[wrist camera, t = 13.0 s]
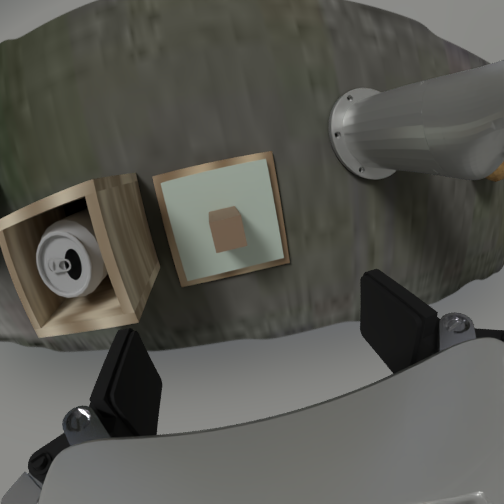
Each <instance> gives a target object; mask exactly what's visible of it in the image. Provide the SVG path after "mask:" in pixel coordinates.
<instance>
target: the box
mask: <svg viewBox="0 0 504 504" xmlns="http://www.w3.org/2000/svg"><path fill="white" fill-rule="evenodd" d="M83 198H86V202H87V206H88V210H89V214H90V218H91V221H92V225H93V228H94V232H95V235H96V239H97V242H98V245H99V248H100V251H101V254H102V257H103V260H104V263H105V266H106V269H107V272H108V274H107V275H106V277H105V278H104V279H103V280H102V282H101V283H100V284H99V285H98V286H97V288H96V289H95V290H94V291H93V292H92V293H90V294H88V295H86V296H82V297H73V298H66V297H63V296H59V295H58V294H56V293H54V292H53V291H51V290H50V289H49V287H48V286H47V285H46V284H45V283H44V281H43V280H42V278H41V276H40V274H39V271H38V267H37V261H36V253H37V249H38V245H39V243H40V241H41V237H42V235H43V234H44V232H45V231H46V229H47V228H48V227H49V226H51V225H52V224H53V223H55V222H57V221H59V220H61V219H63V218H65V217H66V215H65V211H64V207H63V206H64V205H66V204H69V203H72V202H74V201H77V200H80V199H83ZM0 246H1V249H2V252H3V256H4V259H5V262H6V264H7V267H8V270H9V273H10V275H11V278H12V281H13V283H14V286H15V288H16V291H17V293H18V295H19V298H20V300H21V302H22V304H23V307H24V309H25V311H26V313H27V315H28V317H29V319H30V321H31V323H32V325H33V327H34V329H35V331H36V333H37V335H38V337H39V338H42V337H49V336H57V335H64V334H72V333H78V332H85V331H92V330H98V329H104V328H110V327H116V326H122V325H128V324H134V323H139V321H140V318H141V315H142V312H143V310H144V307H145V305H146V302H147V299H148V297H149V294H150V292H151V289H152V287H153V284H154V282H155V279H156V277H157V275H158V272H159V270H160V264H159V260H158V257H157V254H156V250H155V247H154V243H153V240H152V236H151V233H150V229H149V225H148V221H147V218H146V214H145V210H144V206H143V202H142V198H141V193H140V189H139V185H138V180H137V176H136V173H130V174H123V175H116V176H109V177H103V178H96V179H92V180H89V181H86V182H84V183H81V184H78V185H76V186H73V187H70V188H68V189H65V190H63V191H60V192H58V193H55V194H53V195H51V196H48V197H46V198H44V199H41V200H39V201H37V202H35V203H32V204H30V205H28V206H26V207H24V208H22V209H20V210H17V211H15V212H13V213H11V214H9V215H7V216H5V217H3V218H1V219H0Z"/></svg>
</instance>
